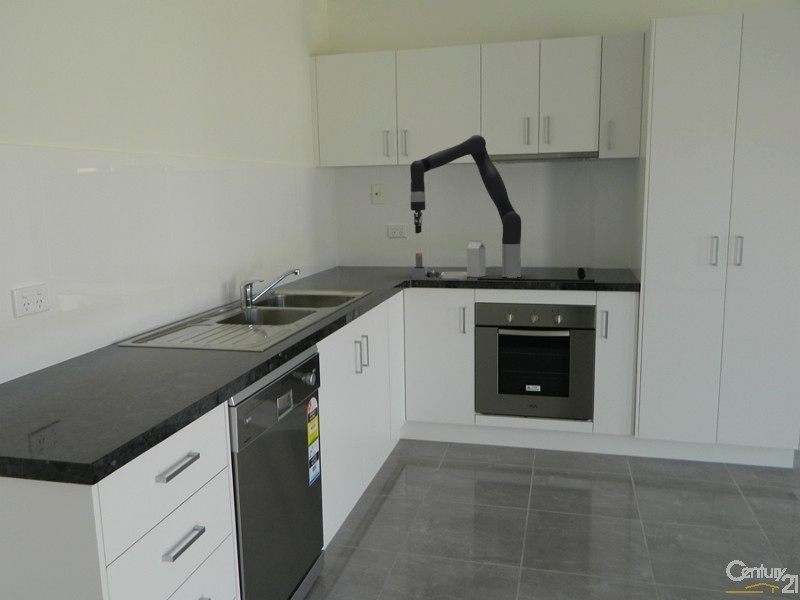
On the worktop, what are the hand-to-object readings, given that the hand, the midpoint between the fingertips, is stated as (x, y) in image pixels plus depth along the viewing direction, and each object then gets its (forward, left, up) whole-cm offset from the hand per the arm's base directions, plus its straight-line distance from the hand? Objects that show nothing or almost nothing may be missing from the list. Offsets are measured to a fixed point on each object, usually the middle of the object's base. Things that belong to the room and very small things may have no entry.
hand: (418, 232), depth 343 cm
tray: (-18, +1, -24) cm, 30 cm away
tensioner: (-4, 0, -24) cm, 24 cm away
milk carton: (-29, -9, -24) cm, 39 cm away
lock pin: (0, 0, -23) cm, 23 cm away
